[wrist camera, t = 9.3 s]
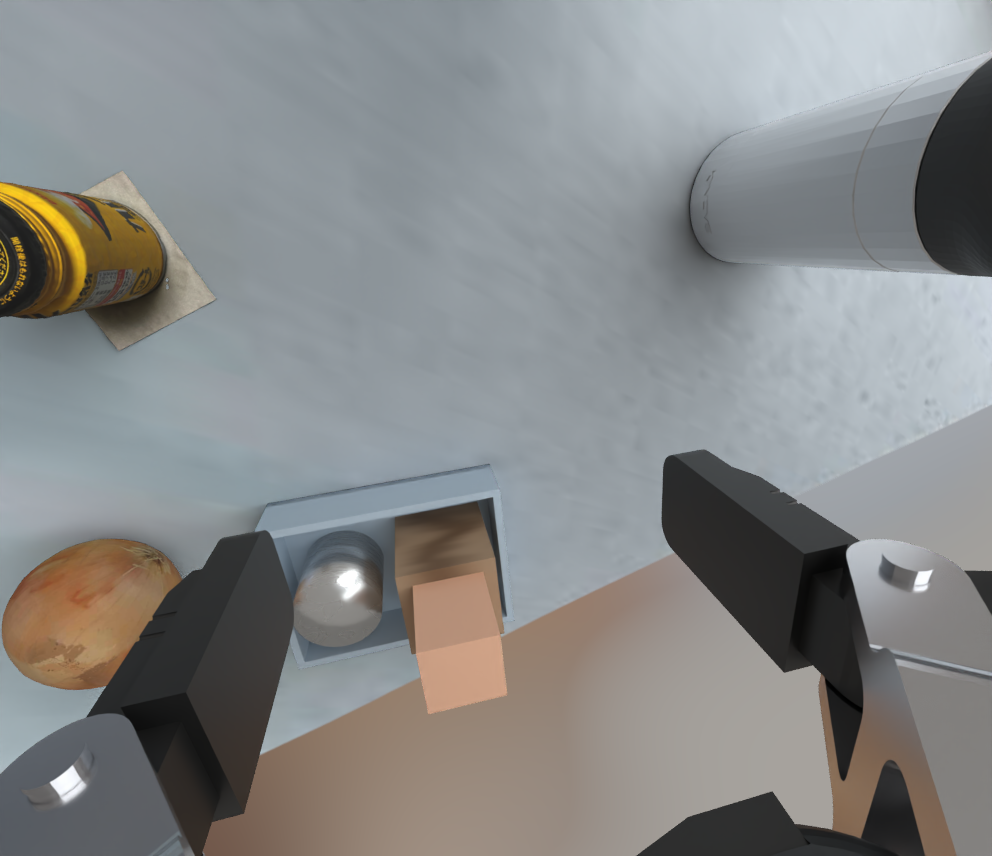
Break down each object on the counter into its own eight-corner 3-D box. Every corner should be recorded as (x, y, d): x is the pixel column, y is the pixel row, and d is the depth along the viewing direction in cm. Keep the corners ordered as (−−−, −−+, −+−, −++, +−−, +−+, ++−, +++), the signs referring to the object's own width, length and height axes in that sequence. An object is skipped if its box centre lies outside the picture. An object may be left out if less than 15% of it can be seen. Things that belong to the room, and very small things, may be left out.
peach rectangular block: (483, 571, 34) (500, 634, 28) (490, 625, 36) (507, 695, 30) (412, 586, 33) (415, 653, 28) (423, 640, 35) (428, 714, 30)
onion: (38, 588, 37) (-79, 701, 28) (98, 490, 35) (-6, 577, 26) (166, 634, 41) (100, 748, 31) (226, 547, 39) (175, 641, 30)
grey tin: (376, 523, 40) (373, 568, 34) (390, 585, 42) (389, 635, 37) (296, 538, 39) (280, 587, 34) (315, 600, 41) (303, 655, 36)
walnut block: (477, 501, 41) (495, 557, 34) (486, 567, 44) (504, 633, 36) (394, 516, 40) (394, 578, 33) (408, 584, 43) (411, 654, 35)
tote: (489, 464, 41) (499, 488, 37) (503, 586, 46) (514, 620, 41) (267, 503, 38) (252, 535, 34) (308, 628, 43) (298, 669, 39)
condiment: (124, 171, 29) (-41, 126, 18) (217, 299, 32) (126, 326, 21) (17, 227, 29) (-213, 217, 18) (121, 350, 32) (-19, 404, 21)
